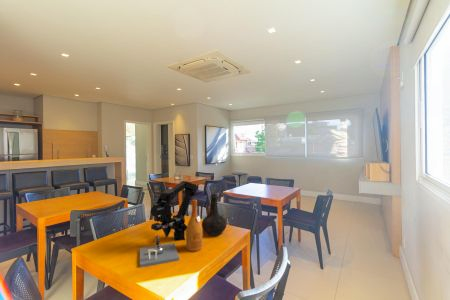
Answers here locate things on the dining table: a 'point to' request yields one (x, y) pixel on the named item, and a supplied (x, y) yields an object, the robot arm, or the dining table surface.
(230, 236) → the dining table surface
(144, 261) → the stand
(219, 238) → the dining table surface
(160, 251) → the grey metal rounded piece
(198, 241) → the brown tall rounded piece
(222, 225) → the glass bottle
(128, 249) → the dining table surface
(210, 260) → the dining table surface
